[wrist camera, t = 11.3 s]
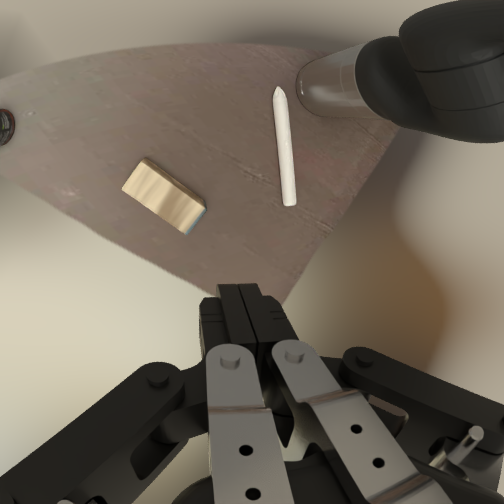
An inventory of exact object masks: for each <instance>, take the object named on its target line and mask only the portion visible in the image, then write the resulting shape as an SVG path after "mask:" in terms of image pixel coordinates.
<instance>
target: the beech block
mask: <svg viewBox="0 0 504 504" xmlns="http://www.w3.org/2000/svg"><path fill="white" fill-rule="evenodd" d="M122 190H123V191H125V192H126V193H127V194H129V195H130V196H132V197H133V198H134V199H136V200H137V201H139V202H140V203H141V204H143V205H144V206H146V207H147V208H149V209H150V210H151V211H153V212H154V213H156V214H157V215H158V216H160V217H161V218H163V219H164V220H166V221H167V222H168V223H170V224H171V225H173V226H174V227H176V228H177V229H178V230H180V231H181V232H183V233H184V234H186V235H188V234H189V232H190V231H191V230H192V228H193V227H194V226H195V225H196V223H197V222H198V221H199V220H200V218H201V217H202V216H203V215H204V213H205V212H206V211H207V207H206V203H205V201H204V200H202V199H201V198H200V197H198V196H197V195H195V194H194V193H193V192H191V191H190V190H189V189H187V188H186V187H185V186H183V185H182V184H181V183H179V182H178V181H177V180H175V179H174V178H172V177H171V176H170V175H168V174H167V173H166V172H164V171H163V170H162V169H160V168H159V167H158V166H156V165H155V164H153V163H152V162H151V161H149V160H148V159H147V158H144V159H143V160H142V161H141V162H140V163H139V165H138V166H137V168H136V169H135V170H134V172H133V173H132V175H131V176H130V177H129V179H128V180H127V182H126V183H125V185H124V186H123V188H122Z"/></svg>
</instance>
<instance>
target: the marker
mask: <svg viewBox="0 0 504 504" xmlns="http://www.w3.org/2000/svg"><path fill="white" fill-rule="evenodd" d="M273 109H274V118H275V127H276V137H277V146H278V156H279V166H280V176H281V187H282V198H283V205H285V206H293V205H296V189H295V177H294V165H293V154H292V143H291V133H290V123H289V113H288V104H287V98H286V96H285V93H284V92H283V90H282V89H281V88H280V87H279V86H278V87H277V88H276V90H275V92H274V95H273Z"/></svg>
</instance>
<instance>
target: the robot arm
mask: <svg viewBox="0 0 504 504" xmlns="http://www.w3.org/2000/svg"><path fill="white" fill-rule="evenodd" d="M296 90H297V95H298V97H299V99H300V101H301V103H302V104H303V106H304V107H305V108H306V109H307V110H308V111H310V112H312V113H313V114H315V115H318V116H322V117H342V118H362V119H377V120H391V121H392V122H393V123H395V124H397V125H399V126H401V127H404V128H408V129H413V130H418V131H422V132H427V133H430V134H434V135H438V136H441V137H445V138H449V139H454V140H458V141H464V142H471V143H498V142H503V141H504V0H458V1H453V2H448V3H444V4H440V5H436V6H433V7H430V8H427V9H424V10H422V11H420V12H417V13H416V14H414V15H412V16H411V17H409V18H408V19H406V21H404V23H403V24H402V25H401V27H400V29H399V37H397V36H388V37H382V38H379V39H376V40H373V41H369V42H366V43H363V44H360V45H357V46H354V47H351V48H348V49H345V50H342V51H339V52H336V53H334V54H331V55H328V56H326V57H323V58H320V59H317V60H315V61H312V62H310V63H308V64H307V65H305V66H304V67H303V68H302V69H301V71H300V72H299V74H298V77H297V81H296ZM199 338H200V346H201V354H202V360H201V362H199V363H198V364H197V365H195V366H193V367H191V368H188V369H185V370H181V371H180V370H179V369H178V368H177V367H176V366H174V365H172V364H169V363H165V362H152V363H148V364H145V365H143V366H141V367H140V368H139V369H137V370H136V371H135V372H134V373H132V374H131V375H130V376H129V377H127V378H126V379H125V380H124V381H122V382H121V383H120V384H119V385H118V386H116V387H115V388H114V389H113V390H111V391H110V392H109V393H108V394H106V395H105V396H104V397H103V398H101V399H100V400H99V401H98V402H96V403H95V404H94V405H92V406H91V407H90V408H89V409H88V410H86V411H85V412H84V413H82V414H81V415H80V416H79V417H77V418H76V419H75V420H74V421H72V422H71V423H70V424H68V425H67V426H66V427H65V428H63V429H62V430H61V431H60V432H58V433H57V434H56V435H54V436H53V437H52V438H50V439H49V440H48V441H47V442H45V443H44V444H43V445H41V446H40V447H39V448H38V449H36V450H35V451H34V452H32V453H31V454H30V455H28V457H26V458H25V459H23V460H22V461H21V462H19V463H18V464H17V465H16V466H14V467H13V468H11V469H10V470H9V471H8V472H6V473H5V474H3V475H2V476H1V477H0V504H131V503H133V502H134V501H135V500H136V499H137V498H138V496H139V495H140V494H141V493H142V492H143V491H144V490H145V489H146V488H147V487H148V486H149V485H150V484H151V483H152V482H153V481H154V480H155V478H156V477H157V476H158V475H159V474H160V473H161V472H162V471H163V470H164V469H165V468H166V467H167V465H168V464H169V463H170V462H171V461H172V460H173V459H174V457H176V455H177V454H178V453H179V452H180V451H181V450H182V449H183V447H184V446H185V445H186V444H187V442H188V440H189V438H192V437H195V436H198V435H201V434H204V433H207V432H208V450H209V466H210V476H207V477H205V478H203V479H200V480H199V481H197V482H195V483H193V484H192V485H190V486H189V487H187V488H186V489H185V490H184V491H182V492H181V493H180V494H179V495H178V496H177V497H176V498H175V500H174V501H173V502H172V504H504V497H503V496H502V495H501V494H499V493H497V488H498V483H499V479H500V474H501V468H502V462H503V456H504V405H503V404H500V403H498V402H495V401H492V400H490V399H488V398H485V397H483V396H480V395H478V394H474V393H472V392H470V391H468V390H465V389H463V388H460V387H458V386H455V385H453V384H451V383H448V382H446V381H443V380H441V379H438V378H436V377H434V376H431V375H429V374H427V373H424V372H422V371H419V370H417V369H415V368H413V367H410V366H408V365H406V364H403V363H401V362H399V361H397V360H394V359H392V358H390V357H387V356H385V355H383V354H381V353H378V352H376V351H374V350H372V349H369V348H366V347H352V348H350V349H348V350H346V351H345V353H344V355H343V358H342V359H341V358H330V357H322V356H319V355H318V354H317V352H316V351H315V349H314V348H313V347H312V346H310V345H309V344H307V343H305V342H302V341H299V339H298V337H297V335H296V333H295V331H294V330H293V327H292V325H291V324H290V322H289V320H288V319H287V316H286V314H285V313H284V310H283V308H282V306H281V305H280V303H279V302H278V301H277V300H276V299H274V298H273V297H272V296H262V294H261V291H260V289H259V287H258V285H257V284H256V283H251V284H217V287H216V297H208V298H206V297H205V298H203V300H202V302H201V303H200V305H199ZM371 395H373V396H375V397H378V398H380V399H382V400H384V401H386V402H389V403H390V404H393V405H395V406H397V407H399V408H402V409H403V410H405V411H406V412H407V414H406V415H405V416H396V415H393V414H391V413H389V412H387V411H385V410H383V409H381V408H379V407H376V406H374V405H372V404H370V403H368V401H369V399H370V397H371Z"/></svg>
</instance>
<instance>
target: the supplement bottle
mask: <svg viewBox="0 0 504 504" xmlns="http://www.w3.org/2000/svg"><path fill="white" fill-rule="evenodd" d="M13 131H14V119H13V116H12V114H11V113H10V112H9V111H7V110H5V109H0V146H2V145H4V144H6V143H7V142H8V141H9V140H10V138H11V136H12V134H13Z"/></svg>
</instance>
